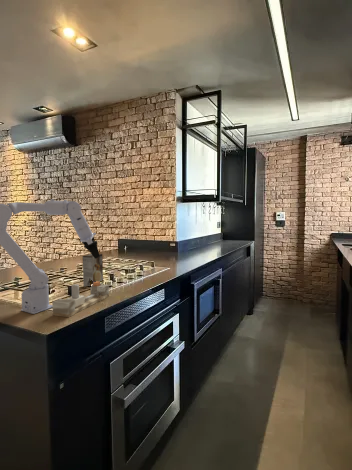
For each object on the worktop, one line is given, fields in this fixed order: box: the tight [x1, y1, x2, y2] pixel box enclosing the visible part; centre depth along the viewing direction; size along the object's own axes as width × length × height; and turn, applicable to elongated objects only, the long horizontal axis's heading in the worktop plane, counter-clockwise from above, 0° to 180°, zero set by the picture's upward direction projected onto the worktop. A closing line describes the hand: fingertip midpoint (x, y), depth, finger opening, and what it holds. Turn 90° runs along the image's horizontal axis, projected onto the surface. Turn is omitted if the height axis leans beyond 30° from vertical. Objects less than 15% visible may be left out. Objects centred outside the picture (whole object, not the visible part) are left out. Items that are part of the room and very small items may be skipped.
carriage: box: [66, 283, 86, 307], centre depth 118 cm, size 6×4×8 cm
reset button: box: [93, 281, 100, 286], centre depth 134 cm, size 2×2×3 cm
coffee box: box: [82, 253, 104, 287], centre depth 155 cm, size 9×6×16 cm
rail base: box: [51, 283, 110, 318], centre depth 123 cm, size 28×7×5 cm, turn 161°
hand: (96, 255), depth 129 cm, fingers open, 7 cm apart
